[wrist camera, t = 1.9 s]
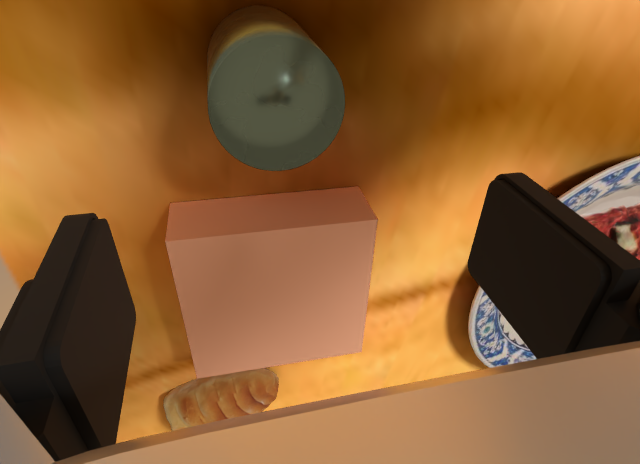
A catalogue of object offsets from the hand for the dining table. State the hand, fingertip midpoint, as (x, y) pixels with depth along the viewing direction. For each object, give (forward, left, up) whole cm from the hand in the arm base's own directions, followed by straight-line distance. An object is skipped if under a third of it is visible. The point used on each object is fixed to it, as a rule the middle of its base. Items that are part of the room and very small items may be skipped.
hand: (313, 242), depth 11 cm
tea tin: (0, 0, -16) cm, 16 cm away
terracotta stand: (0, +14, -15) cm, 21 cm away
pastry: (+5, +27, -16) cm, 32 cm away
